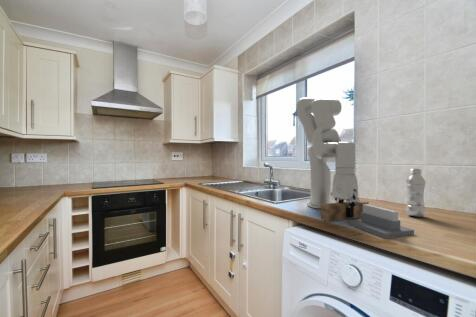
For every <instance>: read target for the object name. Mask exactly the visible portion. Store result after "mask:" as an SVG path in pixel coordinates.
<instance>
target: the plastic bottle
mask: <svg viewBox="0 0 476 317" xmlns="http://www.w3.org/2000/svg"><path fill="white" fill-rule="evenodd" d="M409 170H410V172H409V173H410V175H409V176H408V177H407V178H406V181H405V182H406V188H407V201H406V202H407V203H406V206H405V207H406V208H405V210H406V213H407V215H408V216H412V217H413V218H414V217H416V218H417V217H419V218H422V217H424V216H425V215H426V207H425V198H424V197H425V196H424V194H425V188H426V179H425V178H424V177H423V176H422V175H421V174H422V169H421V168H410V169H409Z"/></svg>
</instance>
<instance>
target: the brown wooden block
mask: <svg viewBox="0 0 476 317" xmlns="http://www.w3.org/2000/svg"><path fill="white" fill-rule="evenodd" d="M359 200H360V202H359V203H358V204H356V205H355V207H354V217H346V207H347V201H344V202H340V203H336V202H333V203H330V204H321V209H320V219H321V220H323V221H325V222H328V223H329V222H336V221H343V220H349V219H350V220H351V219H357V218H361V213H362V212H363V204H369V205H370V203H369V201H366V200H361V199H359ZM350 203H351V201H350Z"/></svg>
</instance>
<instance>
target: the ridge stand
mask: <svg viewBox="0 0 476 317" xmlns="http://www.w3.org/2000/svg"><path fill="white" fill-rule="evenodd" d="M348 225H349V226H351V225H352V226H351V227H354V226H355V227H354V228H357V227H358V229H359V228H360V230H362V229H363V231H364V230H365V232H367V233H370V234H372V233H373V235H375V236H378V237H381V238H383V239H391V238H392V239H393V237H394V238H399V236H400V237H405V236H406V237H407V236H412V235H415V229H412V228H410V227H405V226H402V225H401V219H399V211H396V210H392V209H388V208H384V207H381V206H376V205H373V204H370V203H369V204H363V212H362V213H361V217H360V218H359V219H352V220H351V219H350V220H349V219H348Z"/></svg>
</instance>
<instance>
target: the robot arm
mask: <svg viewBox="0 0 476 317" xmlns="http://www.w3.org/2000/svg"><path fill="white" fill-rule="evenodd" d="M295 108H296V109H295V110H296V116H297V118H298V120H299V121H300V123H301V125H302V128H303V131H304V133H305V134H304V135H305V137H306V140H307V142H308V144H309V145H311V146H310V147H309V149H308V160H309V165H310V167H309V168H310V196H308V197H307V199H308V200H309V202H307V207H310V208H313V209H320V210H321V204H330V203H331V202H332V201H331V199H332V198H331V196H332V197H333V199H334V200H335V203H340V202H347V207H346V217H354V207H355V205H356V204H358V203H359V202H360V200H361V199H360V198H359V184H358V178H357V175H356V144H355V142H353V141H342V140H341V137H340V134H339V132H338V131H337V130H336V129H335V126H336V120H335V116H338V115H340V114H341V112H342V103H341V102H340V100H339V99H338V98H330V97H316V96H315V97H314V96H313V97H312V96H307V97H301V98H299V99H298V101H297V102H296V107H295ZM328 163H331V164H332V163H335V164H334V165H335V168H334V171H335V174H334V175H333V179H332V180H331V178H332V177H331V175H332V173H331V169H330V167H329V165H328ZM331 181H332V182H331ZM331 183H332V184H331ZM331 185H332V187H331ZM331 188H332V190H331ZM331 191H332V192H331ZM331 193H332V195H331ZM350 201H351V203H350Z"/></svg>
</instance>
